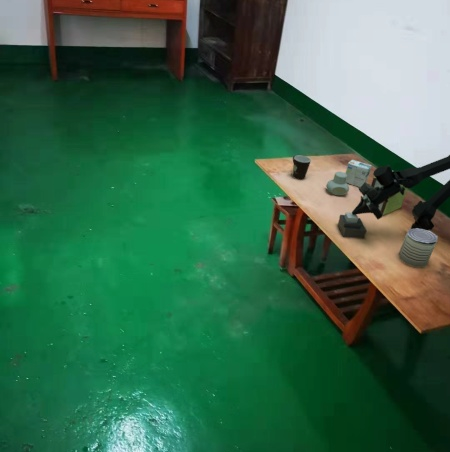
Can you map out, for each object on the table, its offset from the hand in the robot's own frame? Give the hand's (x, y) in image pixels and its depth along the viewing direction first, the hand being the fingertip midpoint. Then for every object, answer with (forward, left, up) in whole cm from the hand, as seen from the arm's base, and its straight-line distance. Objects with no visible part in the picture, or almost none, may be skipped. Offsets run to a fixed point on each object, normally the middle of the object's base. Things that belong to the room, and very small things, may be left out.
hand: (352, 213), depth 192 cm
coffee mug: (+35, -40, -9) cm, 54 cm away
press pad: (0, 0, -3) cm, 3 cm away
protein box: (-10, -32, -9) cm, 35 cm away
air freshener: (+13, -33, -9) cm, 37 cm away
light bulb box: (+7, -50, -8) cm, 51 cm away
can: (-28, +6, -9) cm, 30 cm away
